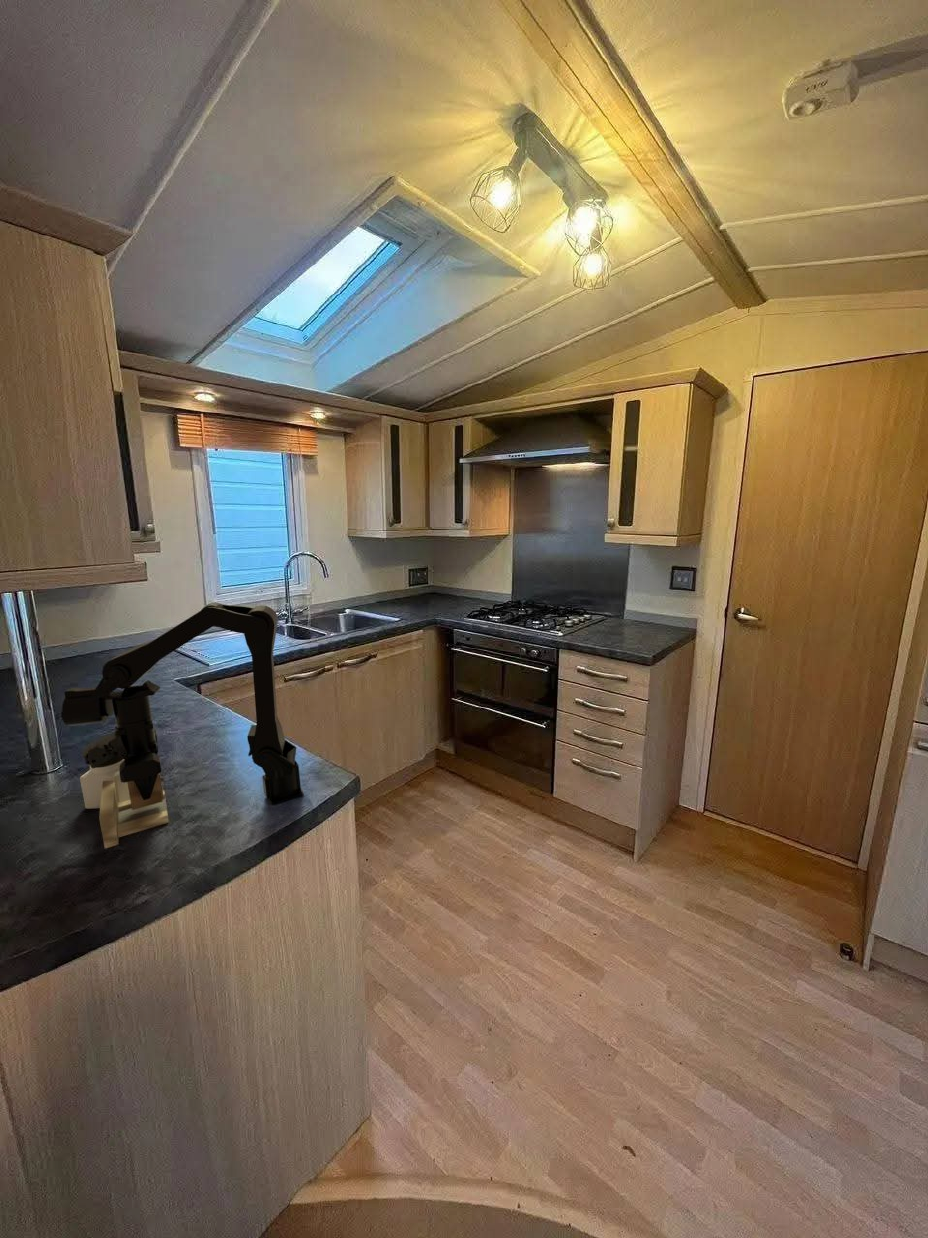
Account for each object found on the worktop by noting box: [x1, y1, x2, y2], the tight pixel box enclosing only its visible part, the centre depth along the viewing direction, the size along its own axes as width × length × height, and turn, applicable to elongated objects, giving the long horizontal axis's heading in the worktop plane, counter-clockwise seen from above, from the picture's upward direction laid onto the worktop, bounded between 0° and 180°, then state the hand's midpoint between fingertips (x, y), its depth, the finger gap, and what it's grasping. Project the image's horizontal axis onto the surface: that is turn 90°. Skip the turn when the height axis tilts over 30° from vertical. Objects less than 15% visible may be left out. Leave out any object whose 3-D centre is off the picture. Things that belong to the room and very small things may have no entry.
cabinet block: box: [127, 773, 165, 810], centre depth 99 cm, size 6×5×6 cm
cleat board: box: [98, 781, 169, 850], centre depth 98 cm, size 10×16×6 cm, turn 33°
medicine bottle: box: [79, 754, 130, 810], centre depth 104 cm, size 7×7×12 cm
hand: (146, 792), depth 99 cm, fingers closed on cabinet block, 5 cm apart
